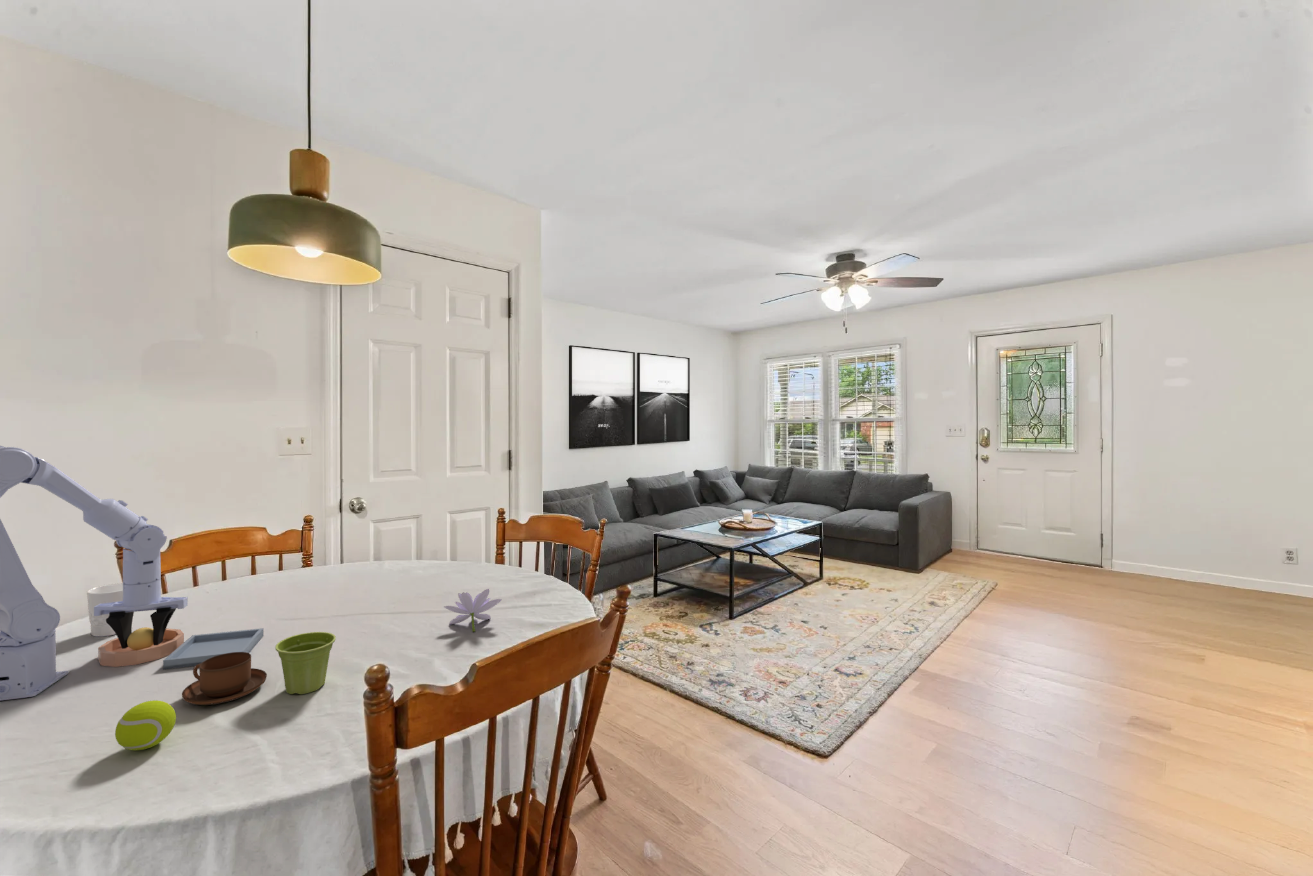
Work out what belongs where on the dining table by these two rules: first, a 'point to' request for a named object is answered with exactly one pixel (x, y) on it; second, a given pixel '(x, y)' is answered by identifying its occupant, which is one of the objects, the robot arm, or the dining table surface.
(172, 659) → the tray
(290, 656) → the plant pot
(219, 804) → the dining table surface
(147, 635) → the ball
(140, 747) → the tennis ball
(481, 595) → the water lily
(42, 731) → the dining table surface
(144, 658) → the bowl
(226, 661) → the cup and saucer
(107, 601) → the white cup
